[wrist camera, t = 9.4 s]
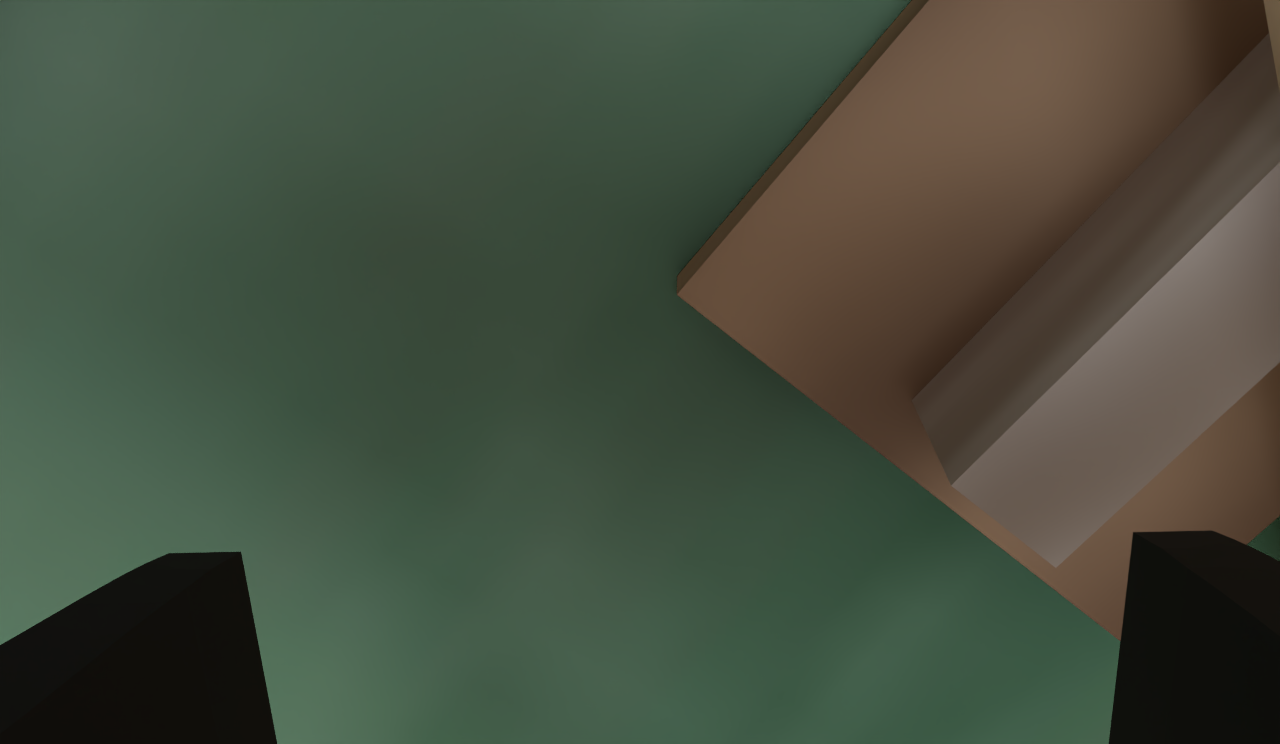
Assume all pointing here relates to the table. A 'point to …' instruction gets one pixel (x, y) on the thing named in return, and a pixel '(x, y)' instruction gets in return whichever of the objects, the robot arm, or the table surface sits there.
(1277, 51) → the maple bar
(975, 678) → the table surface
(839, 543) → the table surface
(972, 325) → the ridge stand
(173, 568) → the robot arm
